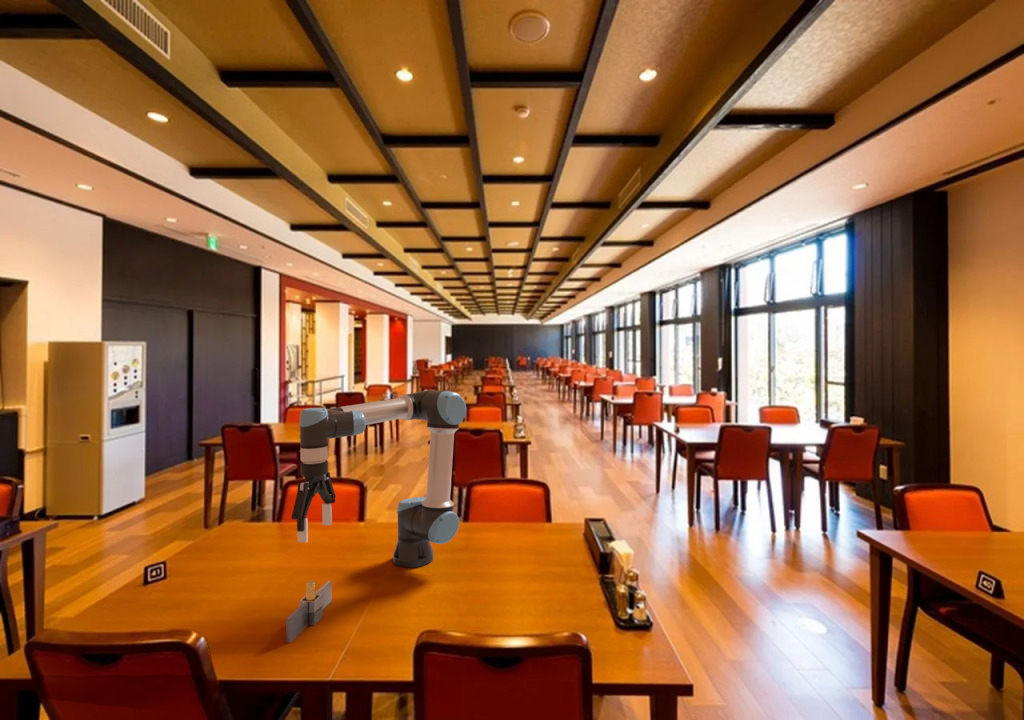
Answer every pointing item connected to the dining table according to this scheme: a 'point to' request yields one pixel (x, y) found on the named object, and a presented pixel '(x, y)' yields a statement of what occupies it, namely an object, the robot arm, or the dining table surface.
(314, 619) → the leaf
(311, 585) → the pin
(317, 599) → the leaf
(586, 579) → the dining table surface
